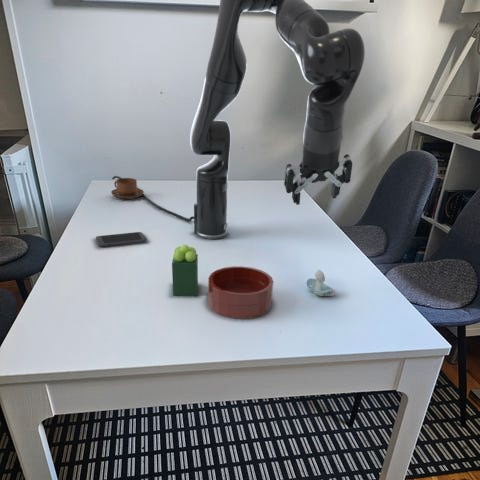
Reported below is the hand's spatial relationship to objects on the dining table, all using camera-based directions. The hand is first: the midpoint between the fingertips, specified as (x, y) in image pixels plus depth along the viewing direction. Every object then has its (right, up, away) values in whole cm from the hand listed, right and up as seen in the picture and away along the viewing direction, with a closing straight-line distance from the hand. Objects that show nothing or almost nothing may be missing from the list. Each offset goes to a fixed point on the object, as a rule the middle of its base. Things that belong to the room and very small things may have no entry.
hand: (315, 199), depth 105 cm
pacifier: (+3, -21, +8) cm, 23 cm away
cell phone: (-53, -4, +31) cm, 61 cm away
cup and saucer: (-60, +19, +71) cm, 95 cm away
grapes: (-30, -21, +6) cm, 37 cm away
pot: (-17, -24, +2) cm, 29 cm away
